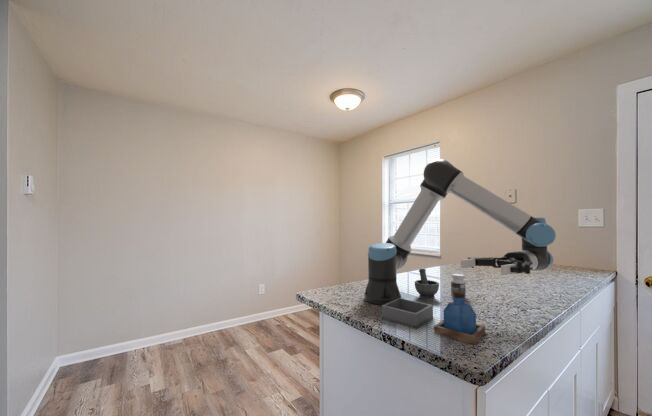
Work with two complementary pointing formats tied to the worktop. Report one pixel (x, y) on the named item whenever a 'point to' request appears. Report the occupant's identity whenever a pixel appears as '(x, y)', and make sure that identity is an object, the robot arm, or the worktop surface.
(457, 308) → the perfume bottle
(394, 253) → the robot arm
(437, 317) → the worktop surface
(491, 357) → the worktop surface
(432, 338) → the worktop surface
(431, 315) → the bin
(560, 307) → the worktop surface
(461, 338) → the holder
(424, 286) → the mortar and pestle
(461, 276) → the pill bottle
